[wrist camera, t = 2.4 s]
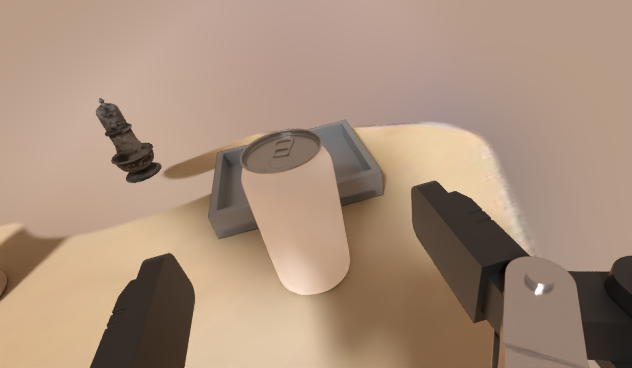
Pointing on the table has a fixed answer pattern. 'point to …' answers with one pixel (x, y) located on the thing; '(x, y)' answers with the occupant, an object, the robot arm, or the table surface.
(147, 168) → the salt shaker
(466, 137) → the table surface
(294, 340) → the table surface
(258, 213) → the can
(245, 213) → the tray
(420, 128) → the table surface
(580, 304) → the robot arm
